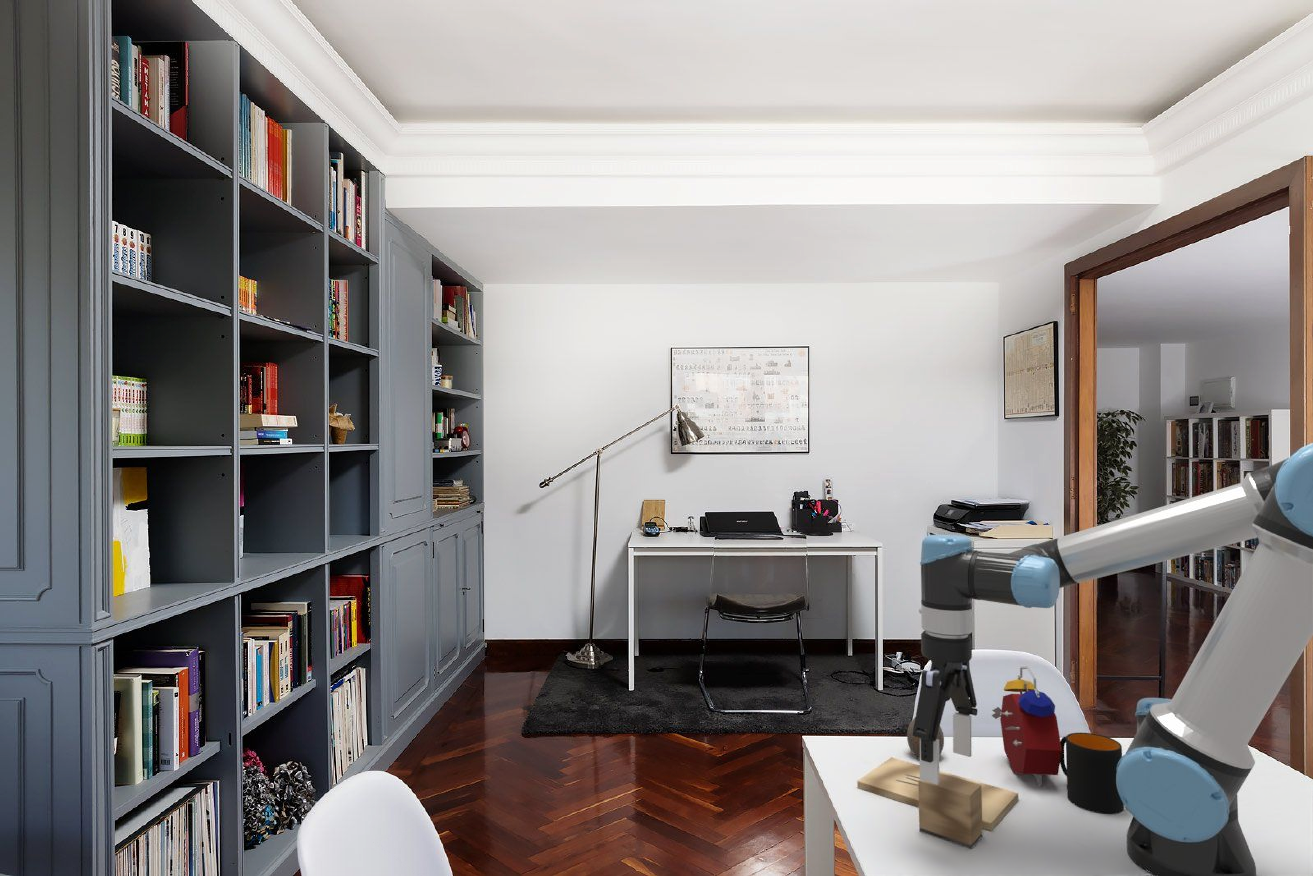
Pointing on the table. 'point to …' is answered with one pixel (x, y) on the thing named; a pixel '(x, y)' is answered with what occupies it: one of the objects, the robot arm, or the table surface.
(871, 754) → the table surface
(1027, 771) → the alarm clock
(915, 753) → the vase
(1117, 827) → the table surface
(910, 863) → the table surface
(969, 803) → the wooden block
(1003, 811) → the board
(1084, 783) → the mug
